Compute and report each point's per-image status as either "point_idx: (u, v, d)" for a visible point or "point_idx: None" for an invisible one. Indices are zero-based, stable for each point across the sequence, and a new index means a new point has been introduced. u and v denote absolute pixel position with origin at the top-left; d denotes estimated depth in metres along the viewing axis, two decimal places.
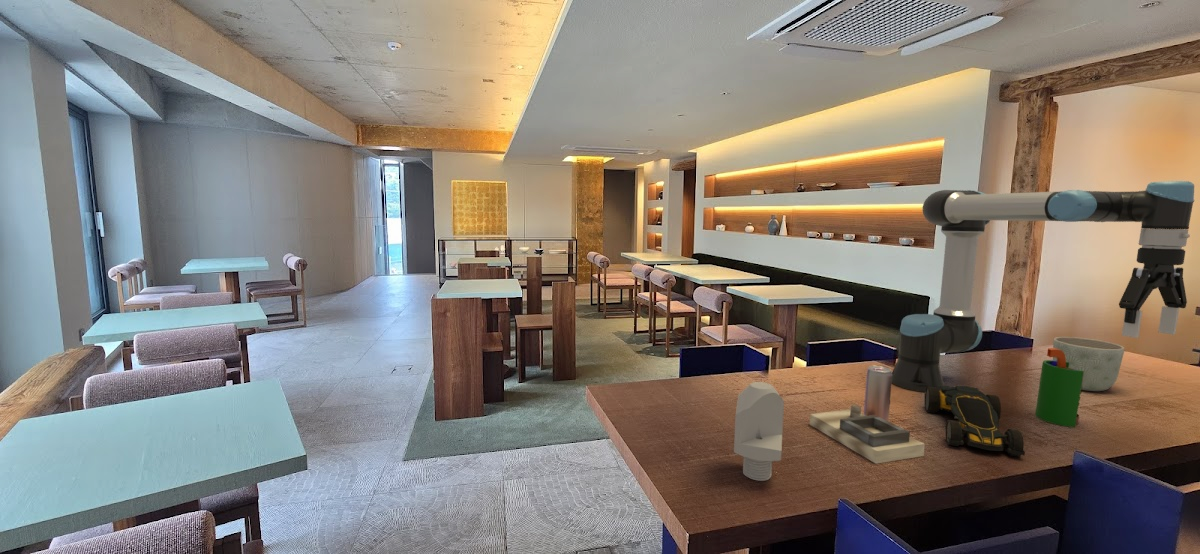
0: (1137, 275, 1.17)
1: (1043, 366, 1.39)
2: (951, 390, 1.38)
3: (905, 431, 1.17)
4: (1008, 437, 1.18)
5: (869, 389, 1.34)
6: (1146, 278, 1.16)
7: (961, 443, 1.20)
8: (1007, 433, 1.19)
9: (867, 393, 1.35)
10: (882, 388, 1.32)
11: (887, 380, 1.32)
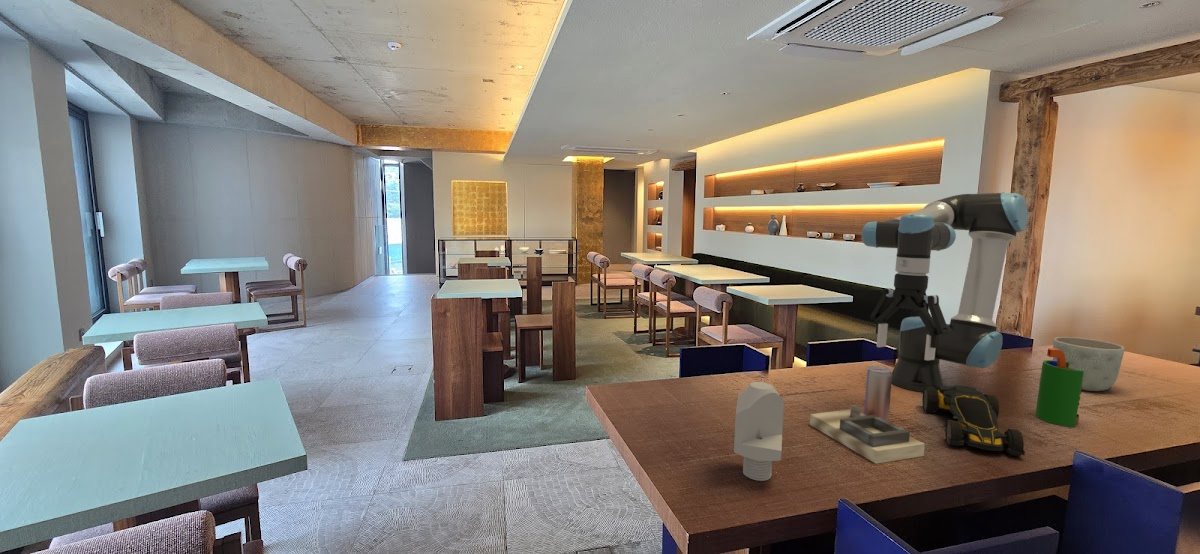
0: None
1: (1043, 366, 1.39)
2: (949, 390, 1.38)
3: (905, 431, 1.17)
4: (1008, 437, 1.18)
5: (869, 389, 1.34)
6: (883, 297, 1.36)
7: (961, 443, 1.20)
8: (1007, 433, 1.19)
9: (867, 393, 1.35)
10: (882, 388, 1.32)
11: (887, 380, 1.32)
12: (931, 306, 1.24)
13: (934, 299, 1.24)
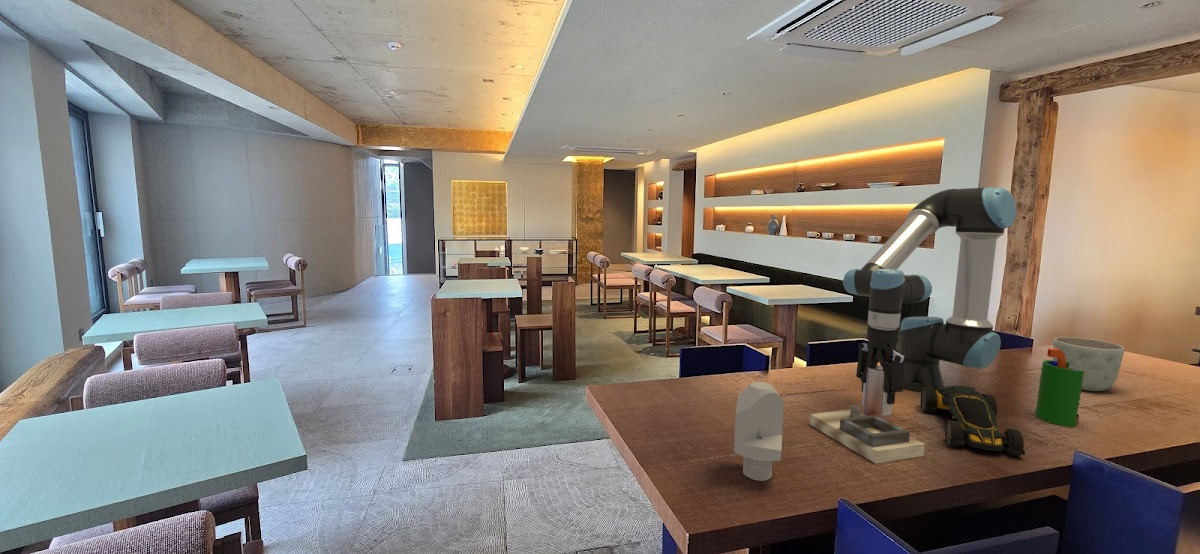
0: None
1: (1043, 366, 1.39)
2: (948, 390, 1.38)
3: (905, 431, 1.17)
4: (1008, 437, 1.18)
5: (869, 388, 1.34)
6: (860, 352, 1.39)
7: (962, 443, 1.20)
8: (1007, 433, 1.19)
9: (867, 393, 1.35)
10: (882, 388, 1.32)
11: None
12: (895, 365, 1.28)
13: (900, 360, 1.28)
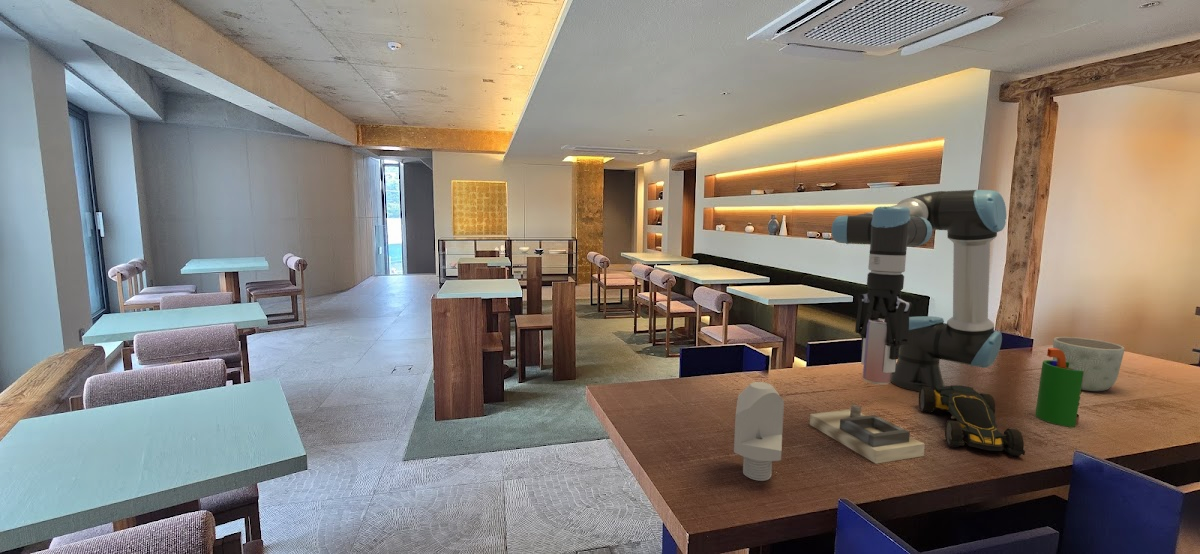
0: None
1: (1043, 366, 1.39)
2: (947, 390, 1.38)
3: (905, 431, 1.17)
4: (1008, 437, 1.18)
5: (870, 343, 1.18)
6: (860, 303, 1.23)
7: (962, 444, 1.20)
8: (1006, 433, 1.19)
9: (867, 348, 1.19)
10: (884, 341, 1.16)
11: None
12: (899, 314, 1.12)
13: (905, 307, 1.12)
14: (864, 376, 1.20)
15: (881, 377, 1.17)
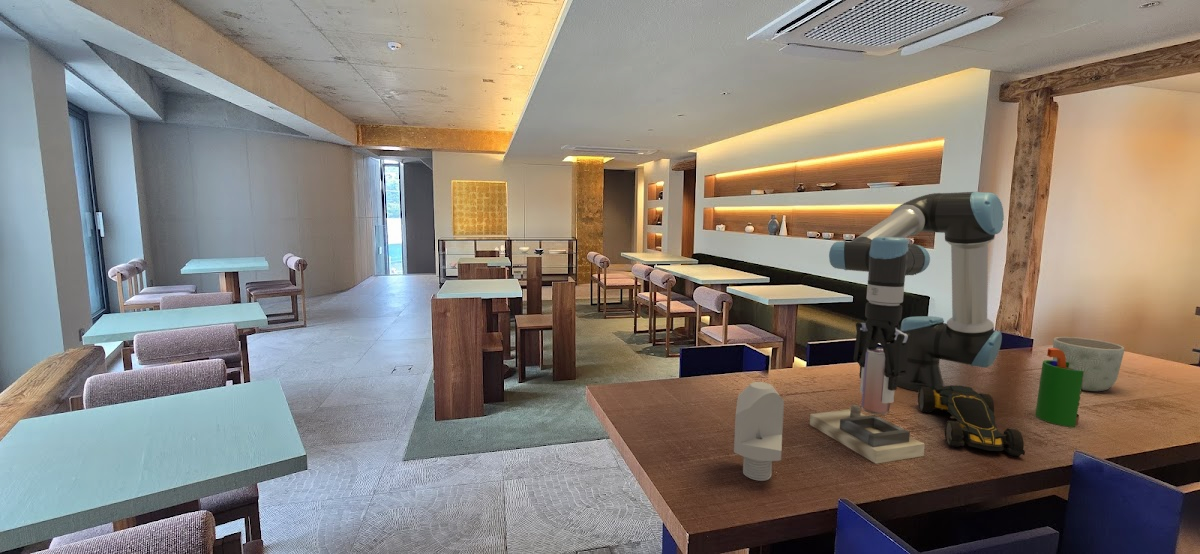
0: None
1: (1043, 366, 1.39)
2: (946, 390, 1.38)
3: (905, 431, 1.17)
4: (1008, 437, 1.18)
5: (868, 373, 1.18)
6: (858, 332, 1.23)
7: (962, 444, 1.20)
8: (1006, 433, 1.19)
9: (866, 378, 1.19)
10: (883, 371, 1.16)
11: None
12: (897, 345, 1.12)
13: (904, 339, 1.12)
14: (863, 406, 1.20)
15: (880, 408, 1.17)
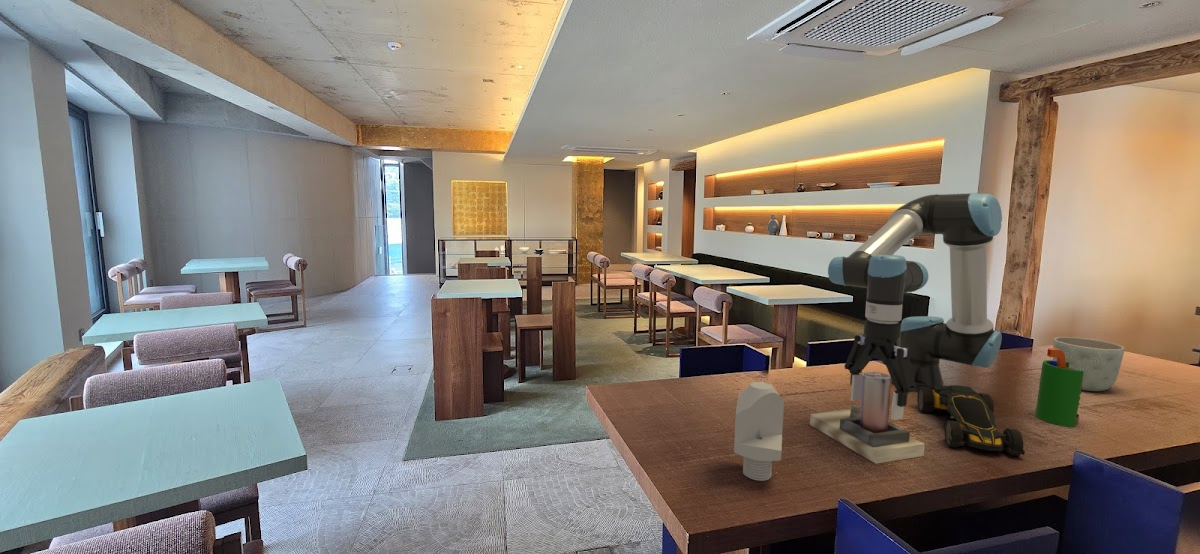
0: None
1: (1043, 366, 1.39)
2: (945, 390, 1.38)
3: (905, 431, 1.17)
4: (1008, 437, 1.18)
5: (866, 398, 1.19)
6: (855, 344, 1.24)
7: (962, 444, 1.20)
8: (1006, 433, 1.19)
9: (863, 403, 1.20)
10: (880, 396, 1.17)
11: (885, 388, 1.17)
12: (899, 360, 1.12)
13: (904, 353, 1.12)
14: None
15: (878, 432, 1.18)
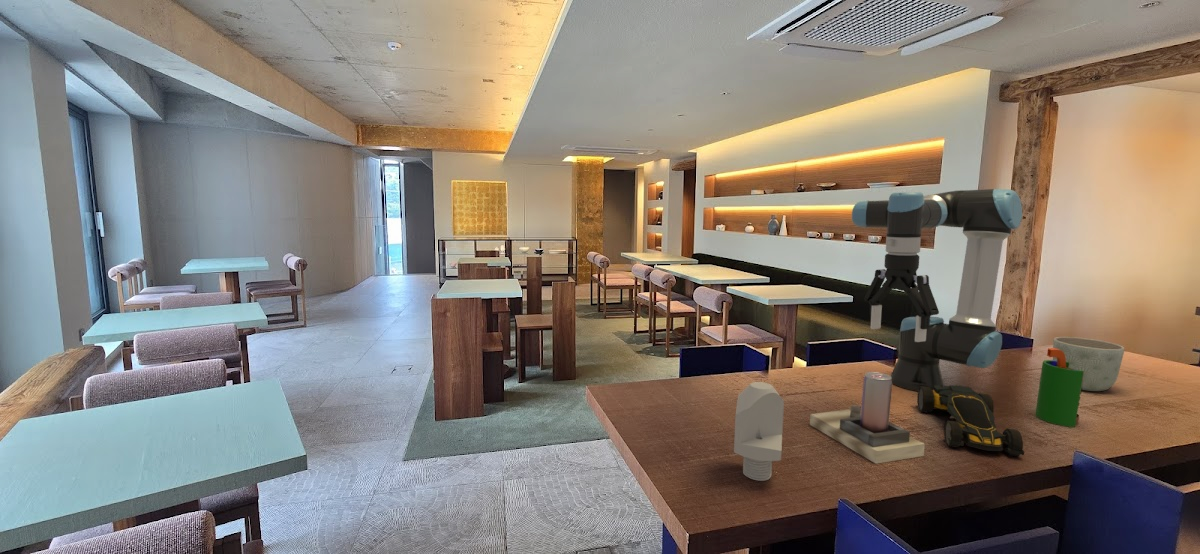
0: None
1: (1043, 366, 1.39)
2: (945, 390, 1.38)
3: (905, 431, 1.17)
4: (1007, 437, 1.18)
5: (866, 398, 1.19)
6: (876, 278, 1.33)
7: (961, 444, 1.20)
8: (1006, 433, 1.19)
9: (864, 403, 1.20)
10: (881, 397, 1.17)
11: (886, 389, 1.17)
12: (920, 286, 1.21)
13: (923, 279, 1.21)
14: None
15: None
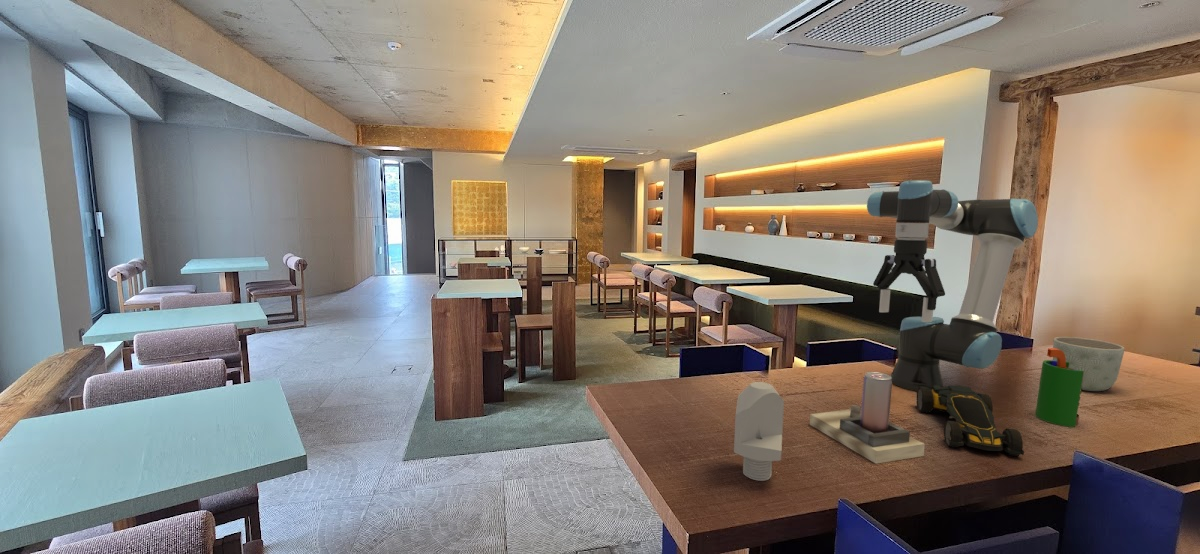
0: None
1: (1043, 366, 1.39)
2: (945, 390, 1.38)
3: (905, 431, 1.17)
4: (1007, 437, 1.18)
5: (866, 398, 1.19)
6: (885, 263, 1.40)
7: (961, 444, 1.20)
8: (1005, 433, 1.19)
9: (864, 403, 1.20)
10: (880, 397, 1.17)
11: (886, 389, 1.17)
12: (928, 269, 1.28)
13: (931, 262, 1.28)
14: None
15: None
